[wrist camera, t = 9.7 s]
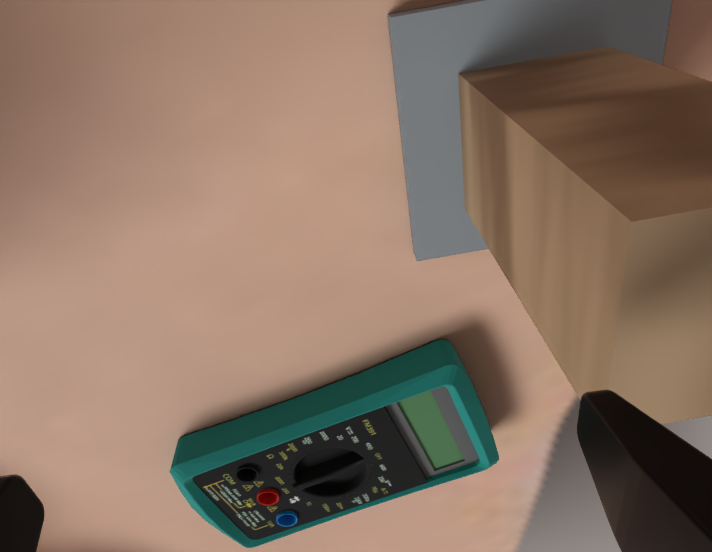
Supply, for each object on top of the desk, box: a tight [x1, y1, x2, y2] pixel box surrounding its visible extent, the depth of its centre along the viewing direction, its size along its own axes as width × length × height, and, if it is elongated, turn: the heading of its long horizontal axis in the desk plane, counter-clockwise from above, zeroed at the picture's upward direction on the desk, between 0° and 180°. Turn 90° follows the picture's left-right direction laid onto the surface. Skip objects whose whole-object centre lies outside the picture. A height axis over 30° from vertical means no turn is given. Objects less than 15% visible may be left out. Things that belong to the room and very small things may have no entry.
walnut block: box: [458, 46, 712, 424], centre depth 14 cm, size 5×5×11 cm
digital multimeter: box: [170, 339, 499, 548], centre depth 27 cm, size 8×15×3 cm, turn 113°
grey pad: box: [388, 0, 672, 261], centre depth 19 cm, size 9×9×1 cm
